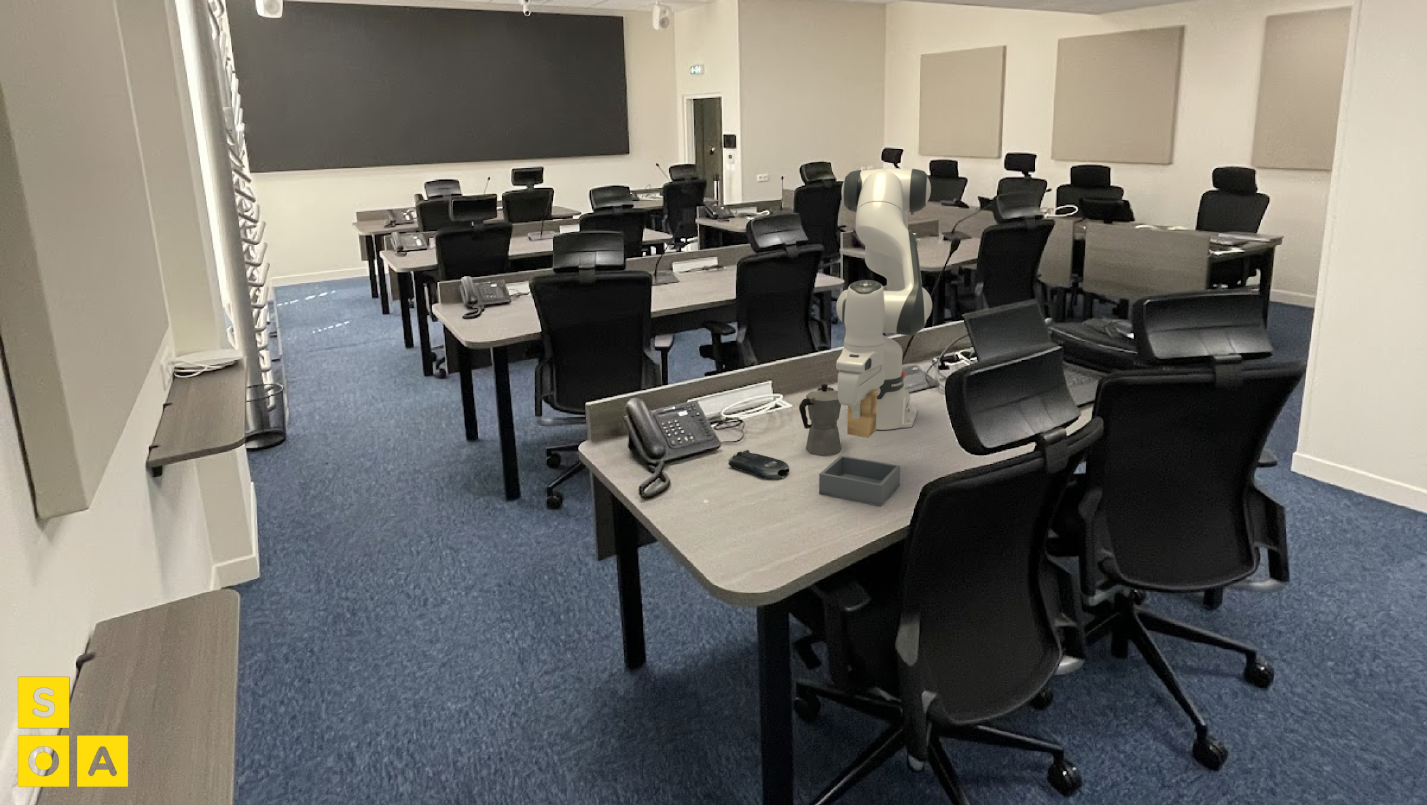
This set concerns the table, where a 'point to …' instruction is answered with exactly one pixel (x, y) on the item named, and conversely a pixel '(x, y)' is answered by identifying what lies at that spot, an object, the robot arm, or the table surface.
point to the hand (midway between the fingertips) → (861, 413)
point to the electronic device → (758, 464)
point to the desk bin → (859, 480)
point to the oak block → (864, 417)
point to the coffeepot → (822, 421)
